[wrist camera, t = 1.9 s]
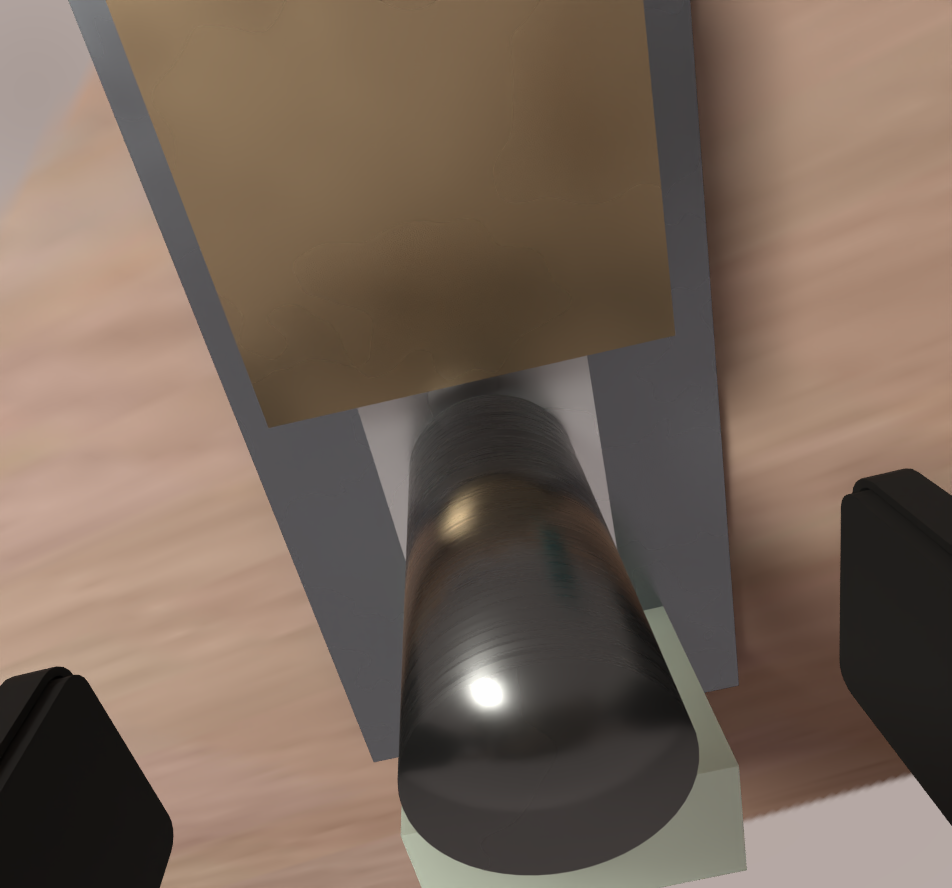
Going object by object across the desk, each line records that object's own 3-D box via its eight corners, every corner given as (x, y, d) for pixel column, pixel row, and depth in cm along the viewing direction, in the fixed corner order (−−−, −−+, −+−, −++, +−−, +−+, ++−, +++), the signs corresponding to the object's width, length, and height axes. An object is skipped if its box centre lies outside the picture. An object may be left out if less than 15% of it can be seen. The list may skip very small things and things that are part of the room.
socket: (663, 606, 20) (738, 765, 15) (674, 699, 21) (746, 870, 16) (405, 661, 20) (400, 835, 15) (435, 749, 21) (439, 932, 17)
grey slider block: (476, -182, 12) (655, -1136, 3) (594, 523, 18) (771, 962, 9) (228, -120, 12) (-395, -824, 3) (430, 560, 18) (438, 1028, 9)
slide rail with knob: (658, -265, 12) (826, -523, 7) (730, 670, 22) (825, 845, 16) (39, -106, 13) (-220, -244, 7) (375, 745, 22) (360, 939, 17)
